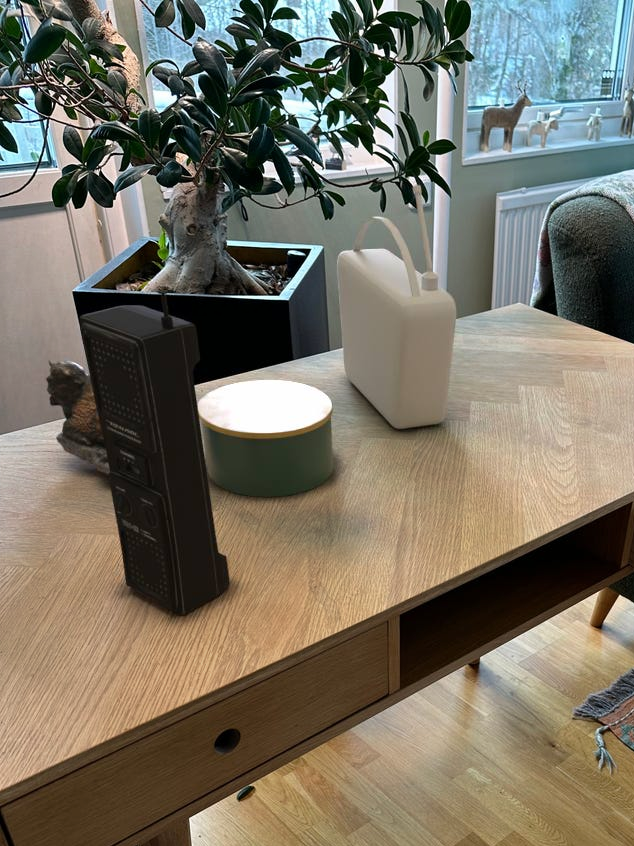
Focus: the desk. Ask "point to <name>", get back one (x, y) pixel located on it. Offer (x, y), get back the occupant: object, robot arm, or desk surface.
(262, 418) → the tin
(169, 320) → the portable radio
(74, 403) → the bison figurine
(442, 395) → the white watering can
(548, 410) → the desk surface
